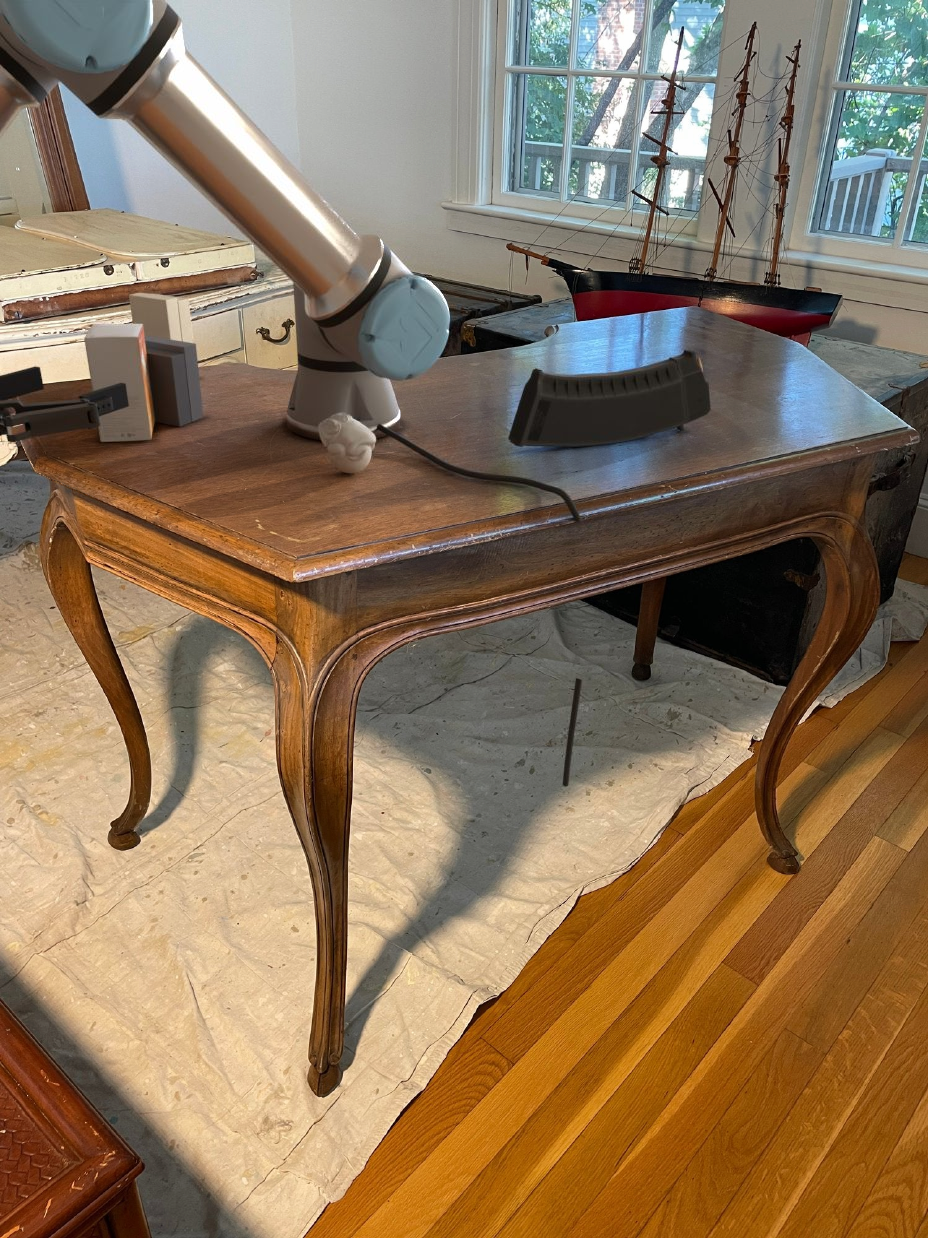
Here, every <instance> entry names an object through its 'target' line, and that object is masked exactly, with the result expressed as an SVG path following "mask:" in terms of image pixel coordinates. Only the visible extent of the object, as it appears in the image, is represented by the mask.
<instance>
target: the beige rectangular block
mask: <svg viewBox="0 0 928 1238" xmlns="http://www.w3.org/2000/svg"><path fill="white" fill-rule="evenodd" d="M128 298H129V299H128V300H129V305H130V314H131V320H132V324H143V329H144V337H147V336H153V337H159V338H165V339H171V340H177V341H183V342H189V343H194V337H193V325H192V317H191V308H190V300H189V299H190V298H186V297H179V296H171V295H165V294H164V295H163V294H159V293H147V292H136V293H131V294H129V295H128Z"/></svg>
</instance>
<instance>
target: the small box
mask: <svg viewBox="0 0 928 1238" xmlns="http://www.w3.org/2000/svg"><path fill="white" fill-rule="evenodd" d="M83 340H84V347H85V352H86V359H87V365H88V372H89V377H90V383H91V389H92V390H91V391H92V392H93V391H96V390H99V389H102V388H105V387H109V386H112V385H115V384H118V383H125V384H126V389H127V396H128V403H129V406H128V407H126V408H123V409H120V410H117V411H114V412H111V413H108V414H105V415H102V416H99V421H100V426H99V427H97V428H98V435H99V441H100V442H101V443H109V442H110V443H111V442H113V443H114V442H138V441H151V440H152V438H153V432H154V427H155V423H156V422H155V415H154V408H153V400H152V393H151V385H150V377H149V369H148V361H147V353H146V345H145V337H144V329H143V324H133V323H93V324H91V325H90V327H89V329H87V332H86V334H85V336H84V339H83Z"/></svg>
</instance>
